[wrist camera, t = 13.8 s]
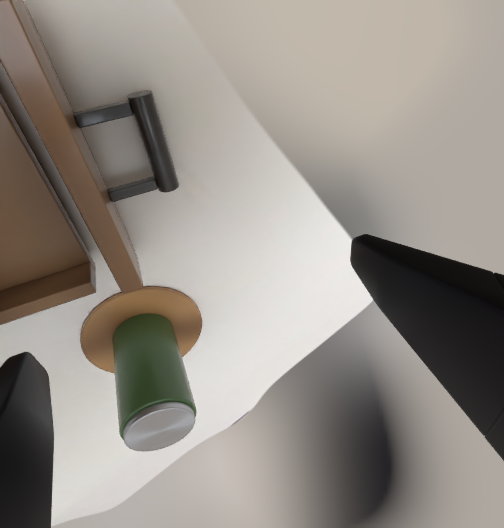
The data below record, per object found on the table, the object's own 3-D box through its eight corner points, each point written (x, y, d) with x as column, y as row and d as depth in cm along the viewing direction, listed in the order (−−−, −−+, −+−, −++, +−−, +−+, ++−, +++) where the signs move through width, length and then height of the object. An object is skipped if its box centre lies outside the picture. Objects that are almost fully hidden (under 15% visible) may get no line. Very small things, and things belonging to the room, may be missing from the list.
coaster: (210, 345, 31) (212, 348, 30) (109, 385, 29) (109, 389, 29) (185, 270, 25) (186, 273, 25) (57, 314, 23) (56, 317, 23)
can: (164, 304, 26) (188, 395, 20) (180, 342, 28) (205, 431, 23) (102, 327, 25) (107, 429, 19) (125, 364, 28) (136, 462, 22)
